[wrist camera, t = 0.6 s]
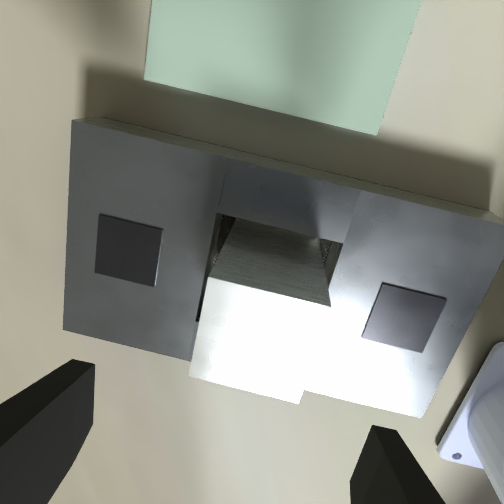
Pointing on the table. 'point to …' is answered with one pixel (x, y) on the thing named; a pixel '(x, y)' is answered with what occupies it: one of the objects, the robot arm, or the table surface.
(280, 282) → the steel peg
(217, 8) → the rubber pad
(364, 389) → the plate with square hole
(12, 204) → the table surface
